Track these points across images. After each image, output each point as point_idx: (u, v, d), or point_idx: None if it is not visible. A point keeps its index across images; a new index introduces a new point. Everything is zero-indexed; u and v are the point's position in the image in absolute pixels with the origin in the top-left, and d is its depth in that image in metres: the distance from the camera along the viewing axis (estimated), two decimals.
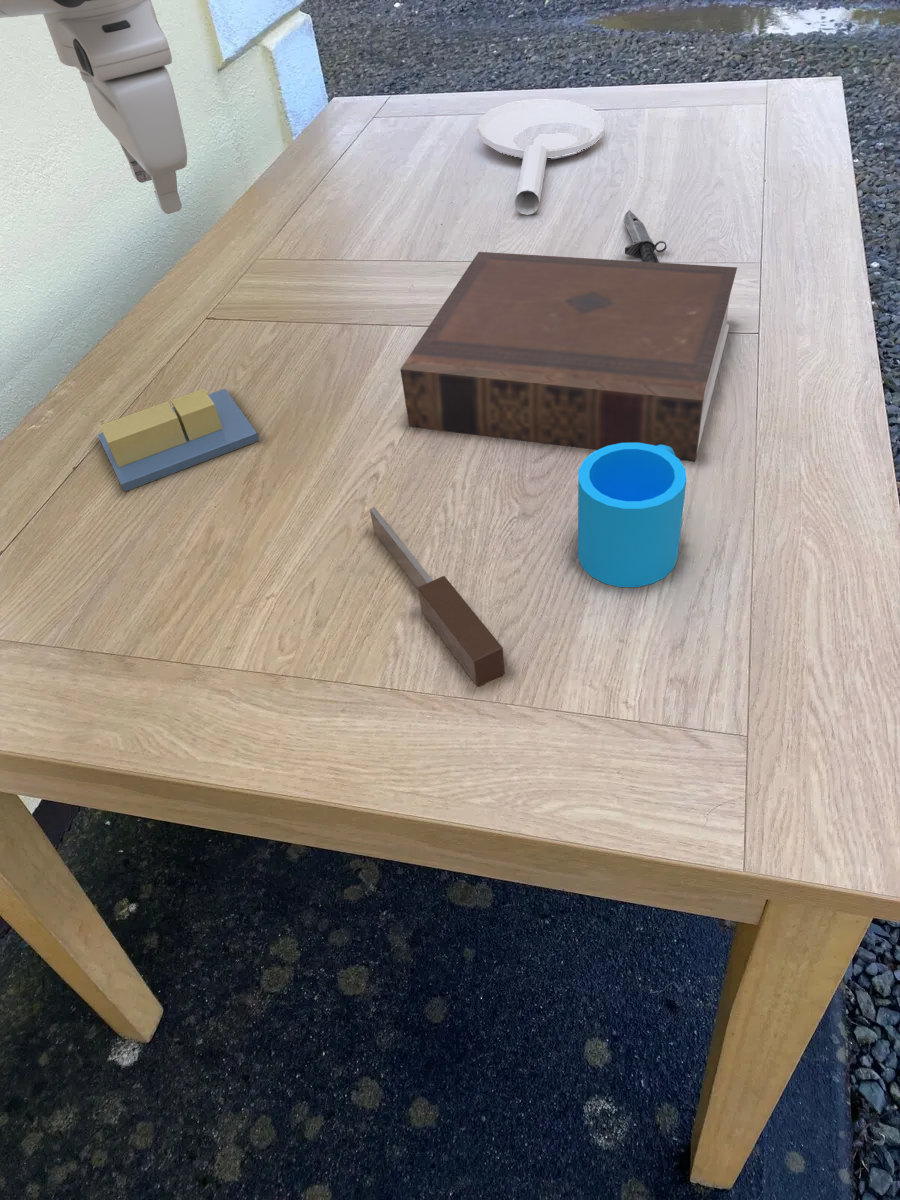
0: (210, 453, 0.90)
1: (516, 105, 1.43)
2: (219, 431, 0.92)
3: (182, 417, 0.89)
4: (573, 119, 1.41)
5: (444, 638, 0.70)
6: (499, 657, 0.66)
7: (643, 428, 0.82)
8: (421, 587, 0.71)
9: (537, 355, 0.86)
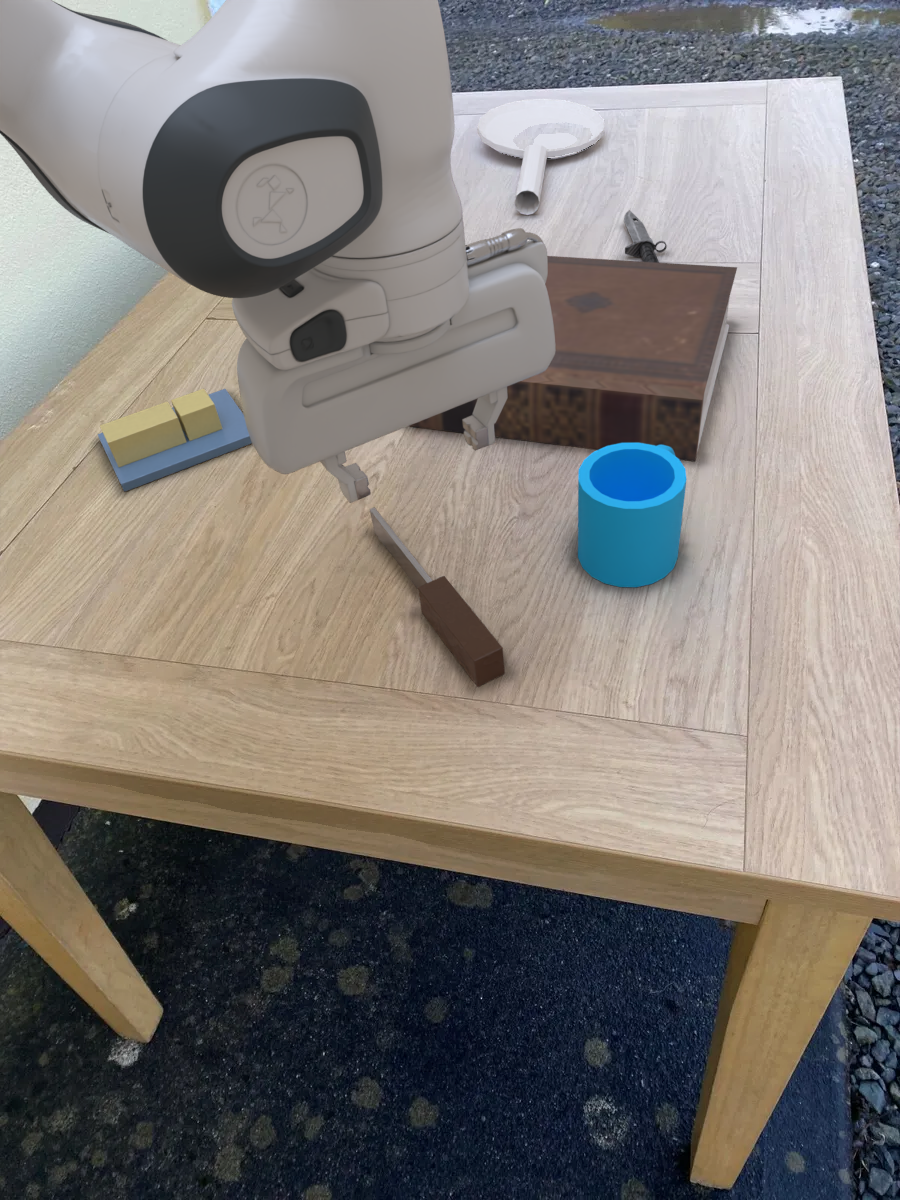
0: (210, 453, 0.90)
1: (516, 105, 1.43)
2: (219, 431, 0.92)
3: (182, 417, 0.89)
4: (573, 119, 1.41)
5: (444, 638, 0.70)
6: (499, 657, 0.66)
7: (643, 427, 0.82)
8: (421, 587, 0.71)
9: None
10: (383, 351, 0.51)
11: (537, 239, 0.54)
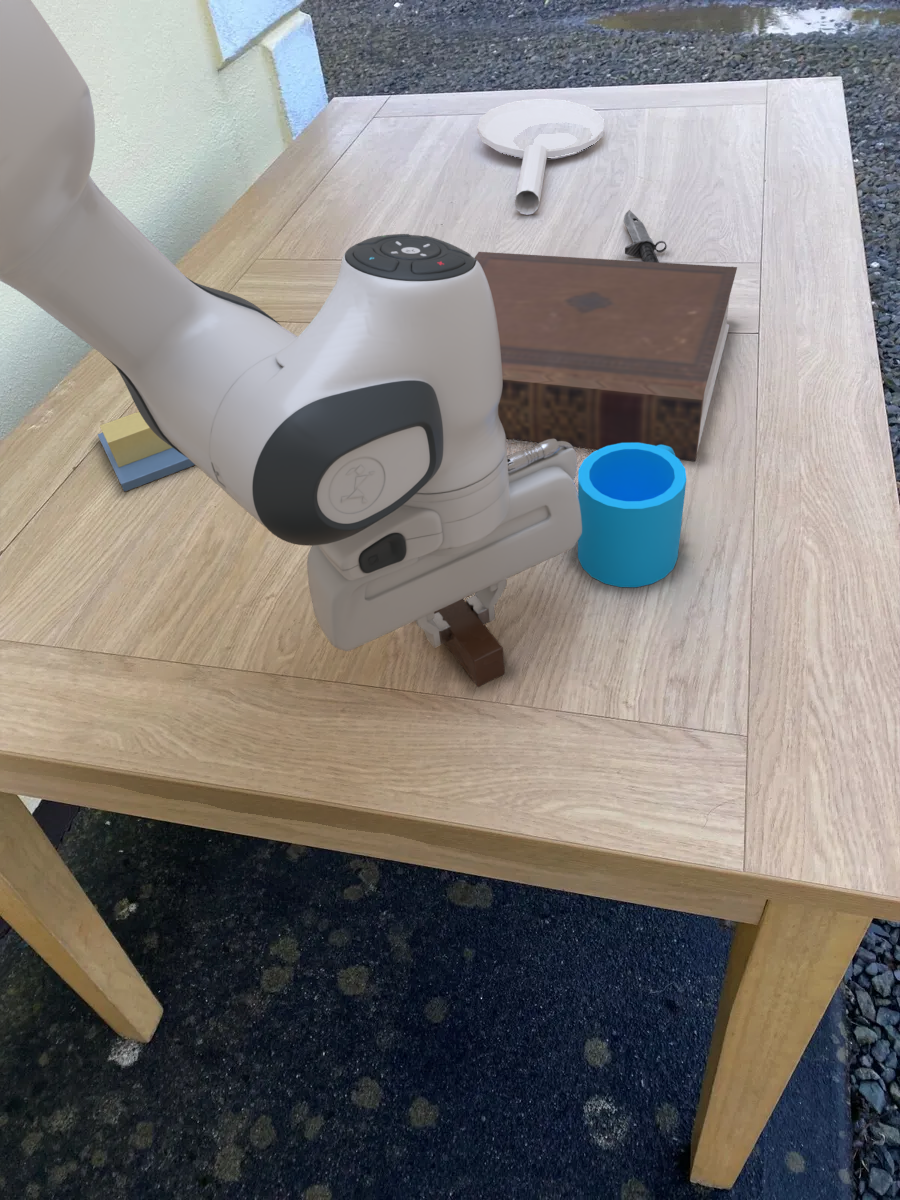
0: None
1: (516, 105, 1.43)
2: None
3: None
4: (573, 119, 1.41)
5: None
6: (499, 657, 0.66)
7: (643, 427, 0.82)
8: None
9: (537, 355, 0.86)
10: (435, 553, 0.59)
11: (568, 446, 0.62)
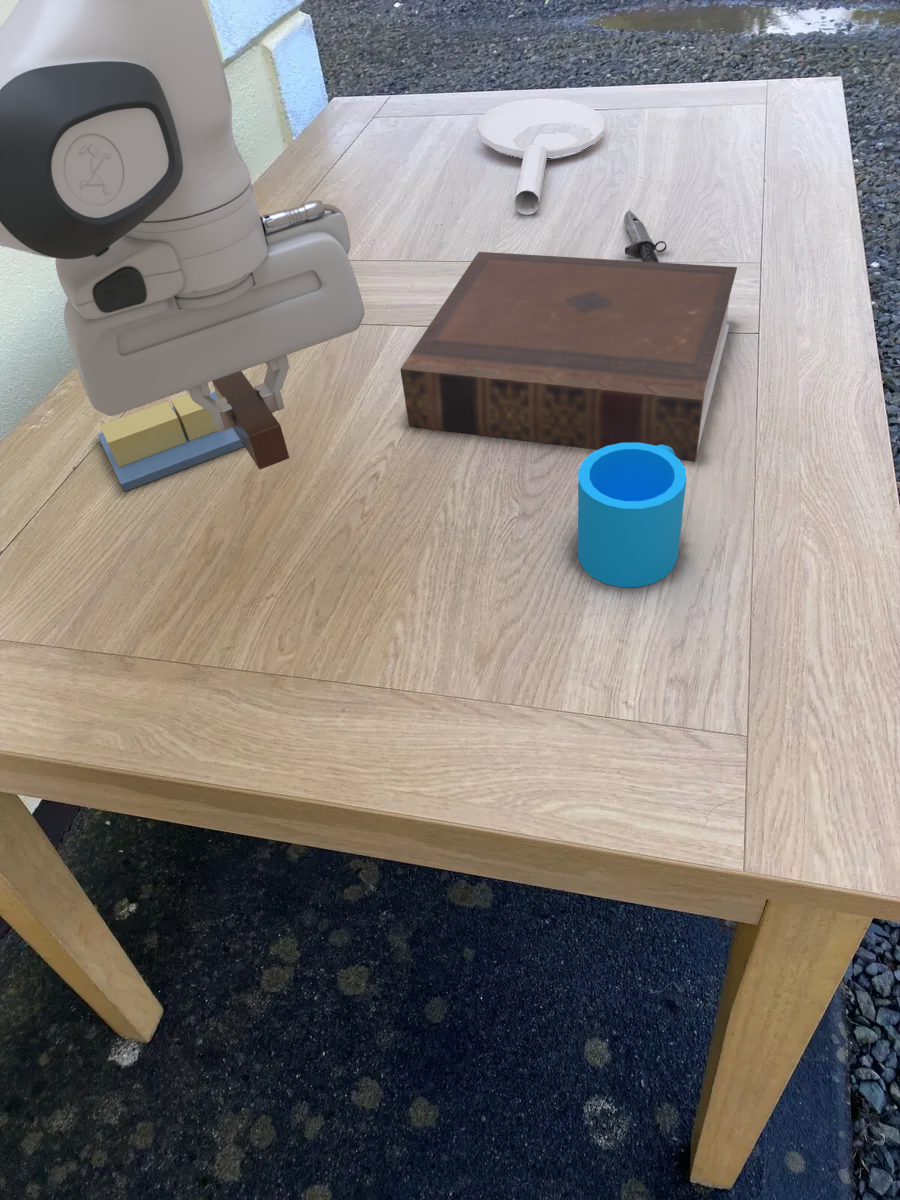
0: (210, 453, 0.90)
1: (516, 105, 1.43)
2: None
3: (182, 417, 0.89)
4: (573, 119, 1.41)
5: (235, 428, 0.69)
6: (278, 436, 0.65)
7: (643, 427, 0.82)
8: None
9: (537, 355, 0.86)
10: (188, 306, 0.59)
11: (335, 210, 0.62)
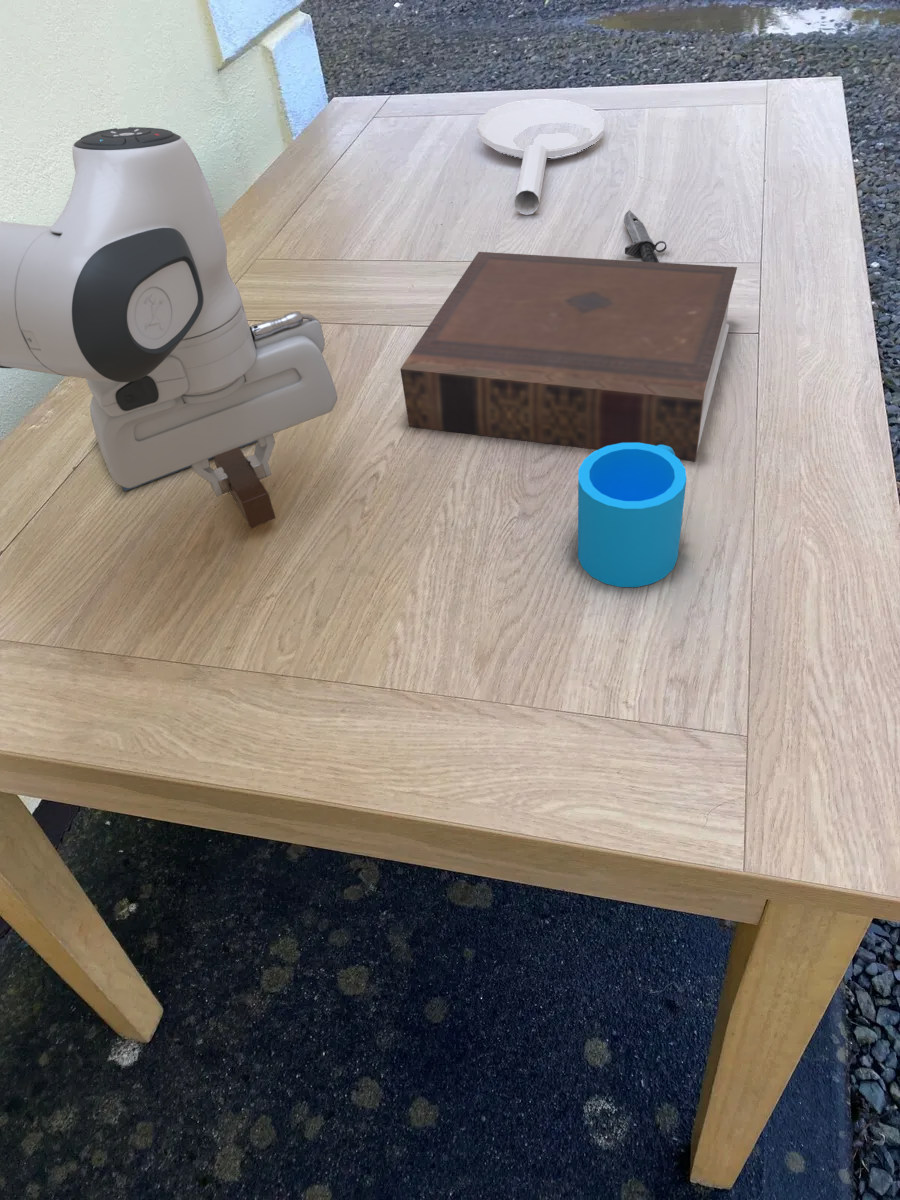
0: None
1: (516, 105, 1.43)
2: None
3: None
4: (573, 119, 1.41)
5: (230, 491, 0.82)
6: (266, 502, 0.79)
7: (643, 427, 0.82)
8: None
9: (537, 355, 0.86)
10: (192, 401, 0.72)
11: (312, 318, 0.75)
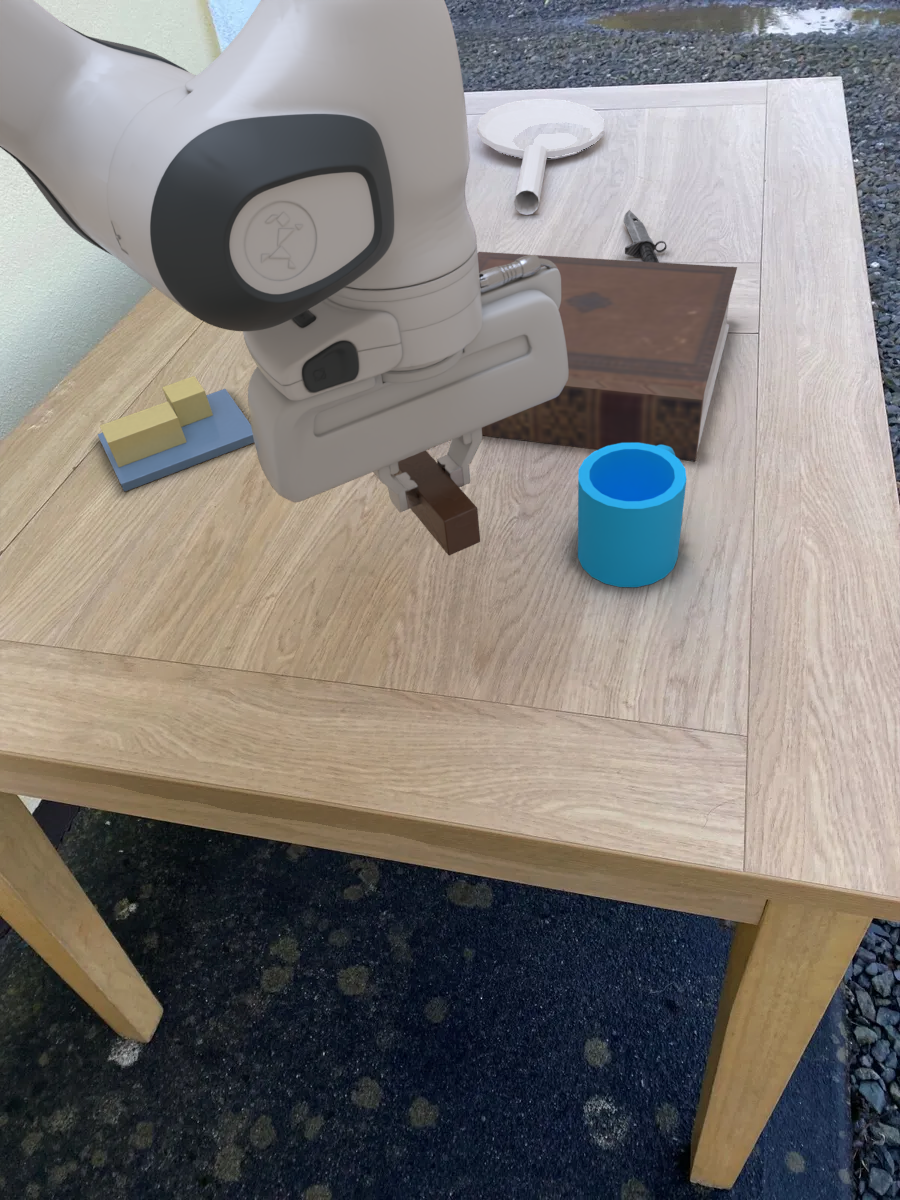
0: (210, 453, 0.90)
1: (516, 105, 1.43)
2: (219, 431, 0.92)
3: (173, 403, 0.91)
4: (573, 119, 1.41)
5: None
6: (473, 519, 0.58)
7: (643, 427, 0.82)
8: None
9: None
10: (395, 380, 0.51)
11: (551, 265, 0.54)
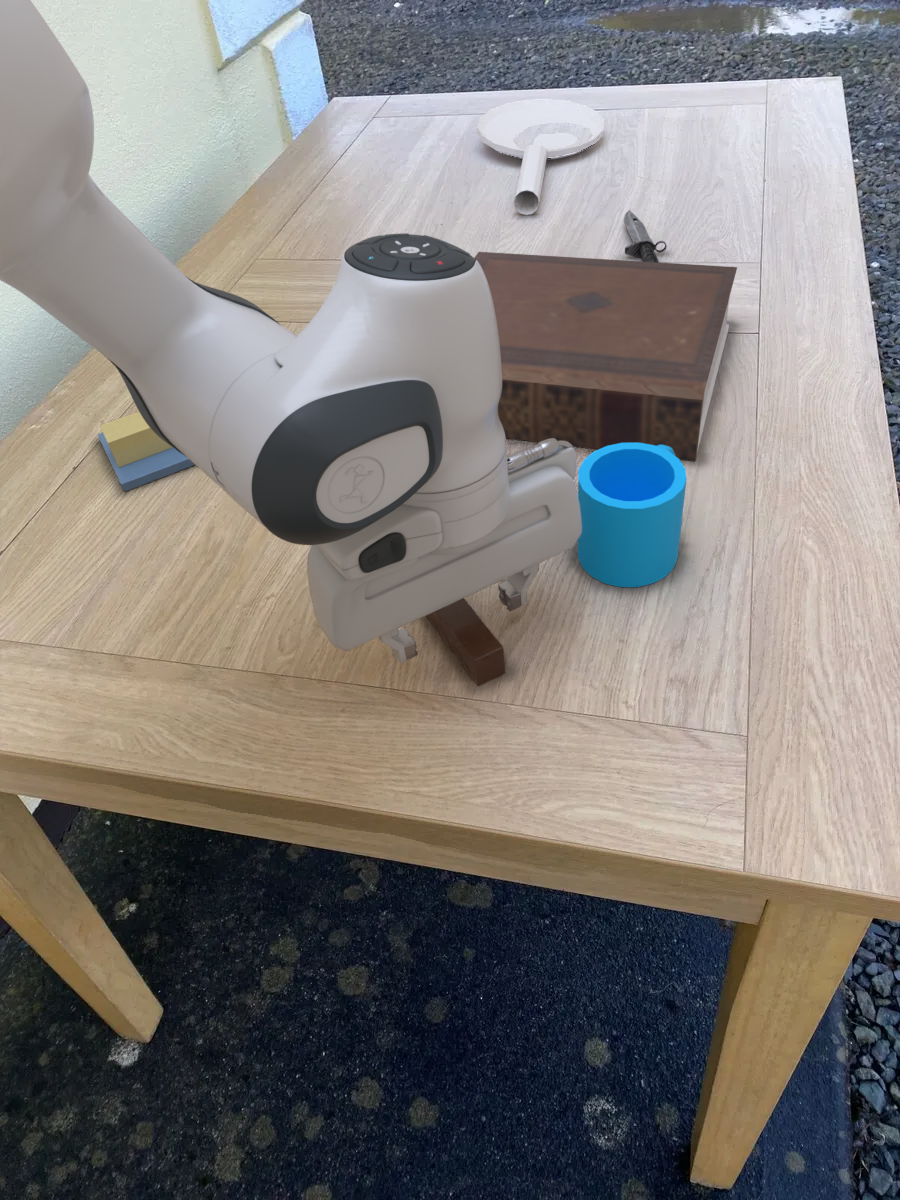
0: None
1: (516, 105, 1.43)
2: None
3: None
4: (573, 119, 1.41)
5: (445, 637, 0.70)
6: (499, 656, 0.66)
7: (643, 427, 0.82)
8: None
9: (537, 355, 0.86)
10: (435, 553, 0.59)
11: (568, 445, 0.62)
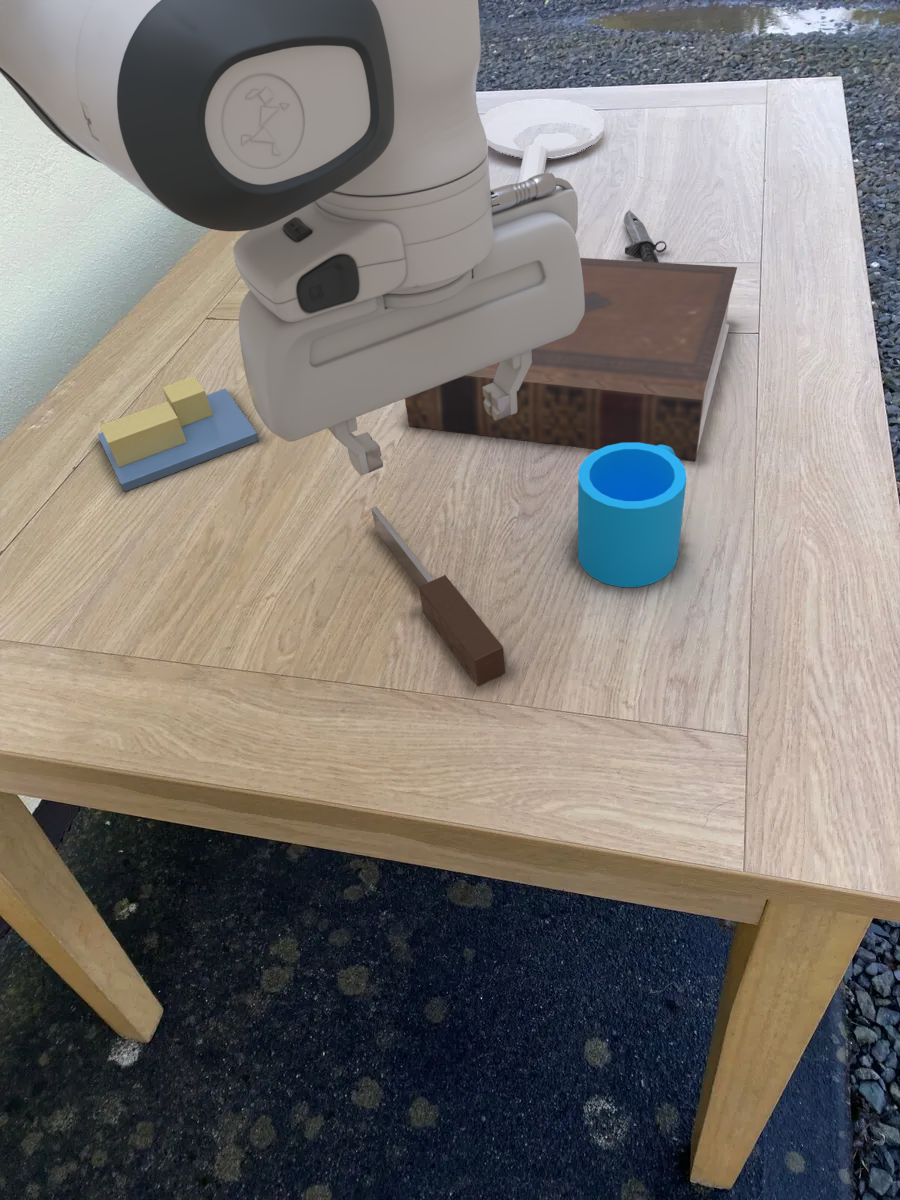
0: (210, 453, 0.90)
1: (516, 105, 1.43)
2: (219, 431, 0.92)
3: (173, 403, 0.91)
4: (573, 119, 1.41)
5: (445, 637, 0.70)
6: (499, 656, 0.66)
7: (643, 427, 0.82)
8: (422, 586, 0.71)
9: (537, 354, 0.86)
10: (399, 305, 0.47)
11: (567, 186, 0.50)
